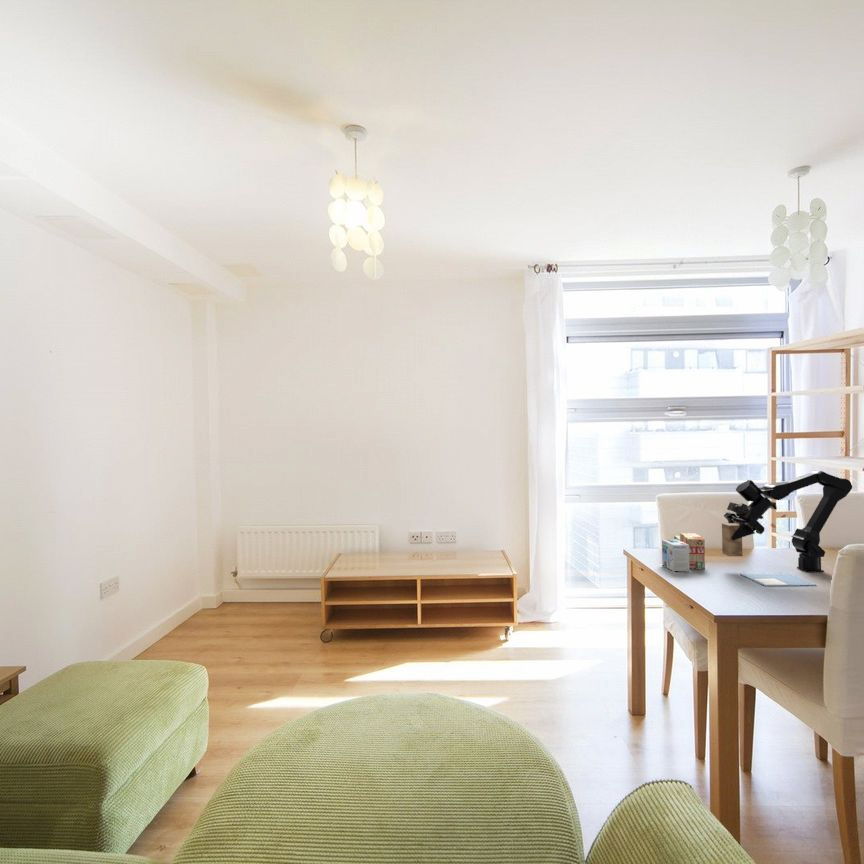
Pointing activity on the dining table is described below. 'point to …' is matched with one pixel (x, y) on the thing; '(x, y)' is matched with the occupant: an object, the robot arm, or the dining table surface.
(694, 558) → the stack of blocks
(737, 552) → the walnut column
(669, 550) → the light bulb box
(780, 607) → the dining table surface
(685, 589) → the dining table surface
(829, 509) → the robot arm
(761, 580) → the board
